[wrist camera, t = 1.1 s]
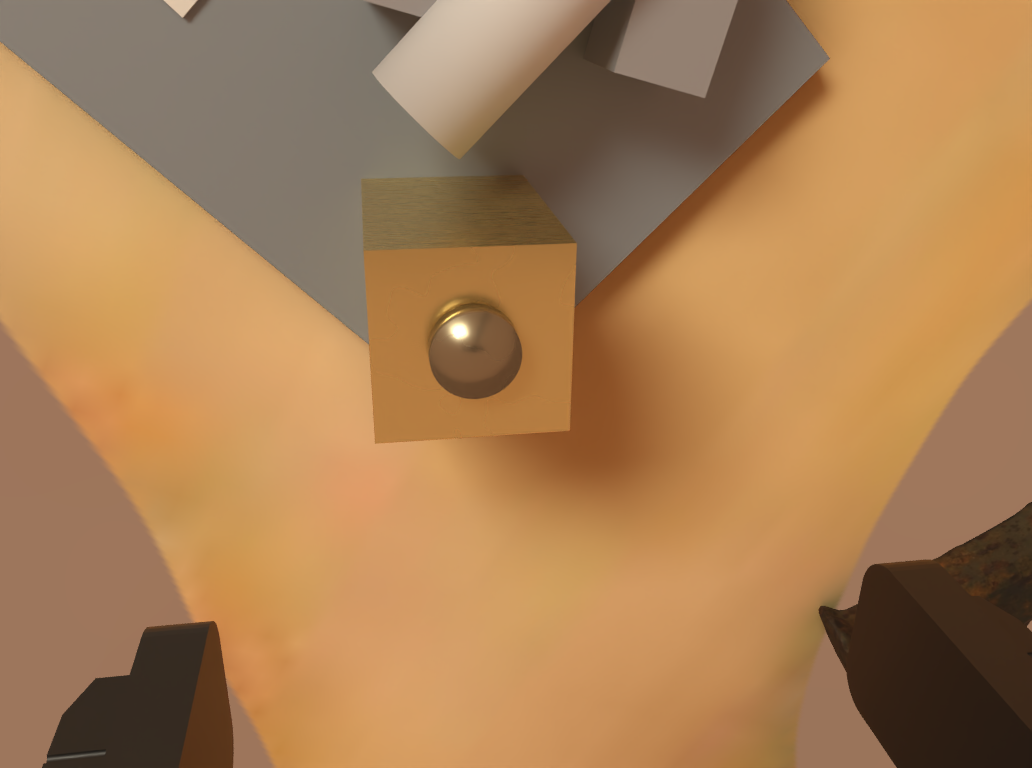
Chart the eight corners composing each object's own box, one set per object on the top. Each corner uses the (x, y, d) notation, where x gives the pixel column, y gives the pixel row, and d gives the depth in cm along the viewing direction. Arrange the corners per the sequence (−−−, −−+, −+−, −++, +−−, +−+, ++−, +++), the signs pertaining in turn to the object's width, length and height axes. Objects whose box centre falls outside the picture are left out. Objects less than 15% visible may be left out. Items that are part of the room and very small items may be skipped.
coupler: (361, 178, 25) (363, 259, 19) (523, 174, 26) (582, 251, 19) (370, 331, 27) (375, 456, 20) (521, 324, 28) (575, 442, 21)
